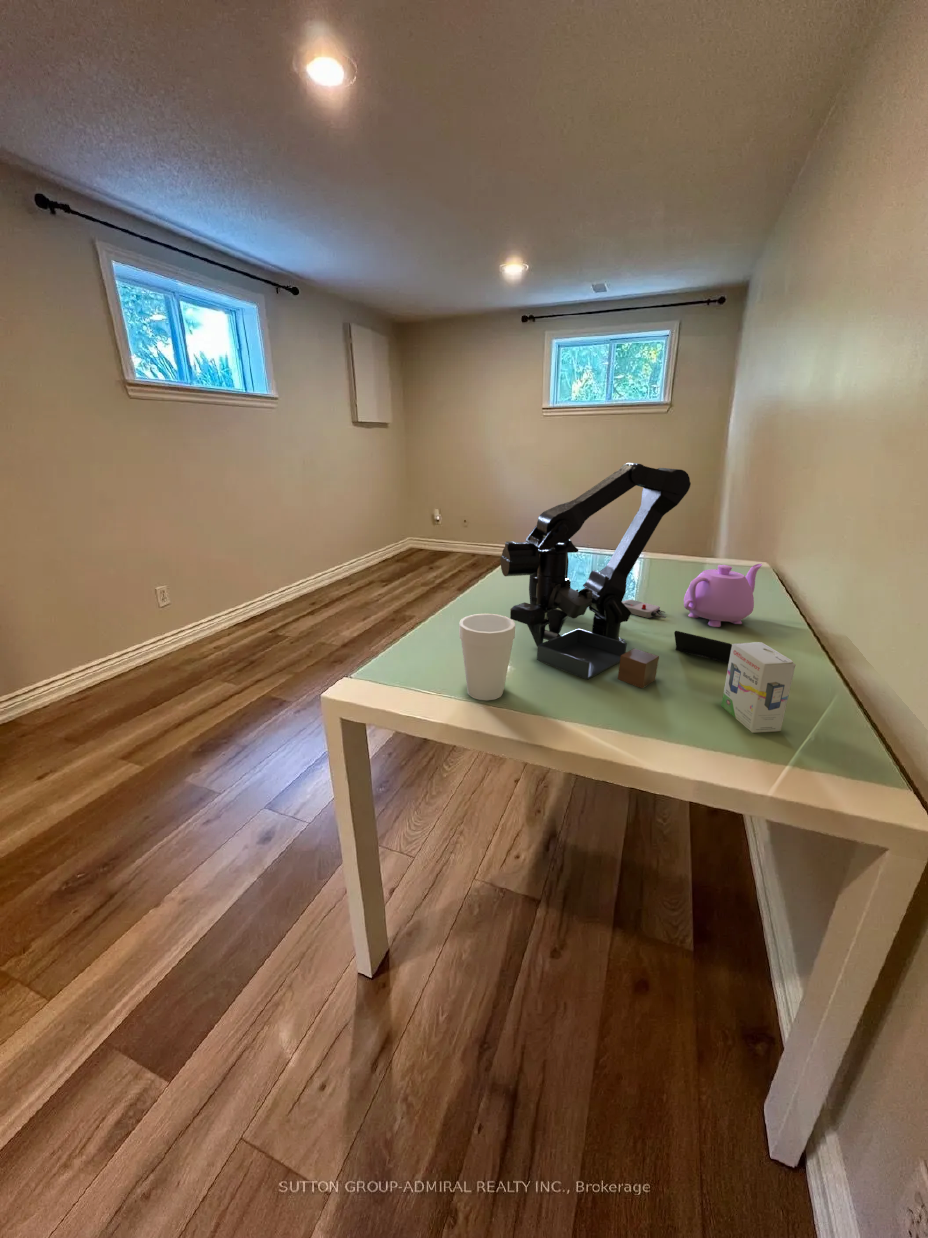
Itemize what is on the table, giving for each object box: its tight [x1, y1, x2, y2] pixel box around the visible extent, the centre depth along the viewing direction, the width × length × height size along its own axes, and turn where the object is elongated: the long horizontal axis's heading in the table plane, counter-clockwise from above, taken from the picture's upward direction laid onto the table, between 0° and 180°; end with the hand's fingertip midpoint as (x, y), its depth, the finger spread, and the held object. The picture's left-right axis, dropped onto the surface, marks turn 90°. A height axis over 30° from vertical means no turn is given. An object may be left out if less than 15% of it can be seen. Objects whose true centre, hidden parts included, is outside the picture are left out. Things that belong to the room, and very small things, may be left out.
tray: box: [536, 627, 628, 681], centre depth 101 cm, size 14×17×4 cm
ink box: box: [720, 641, 797, 734], centre depth 77 cm, size 9×5×12 cm, turn 5°
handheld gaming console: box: [673, 630, 733, 665], centre depth 101 cm, size 12×7×10 cm
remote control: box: [622, 599, 667, 619], centre depth 128 cm, size 7×16×3 cm, turn 45°
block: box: [617, 648, 660, 689], centre depth 91 cm, size 5×5×5 cm
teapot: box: [683, 563, 763, 628], centre depth 122 cm, size 22×16×14 cm
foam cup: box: [458, 613, 516, 701], centre depth 85 cm, size 10×9×13 cm
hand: (546, 643), depth 105 cm, fingers open, 5 cm apart
